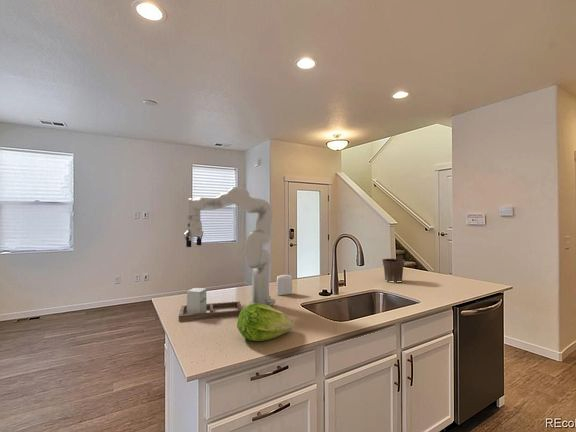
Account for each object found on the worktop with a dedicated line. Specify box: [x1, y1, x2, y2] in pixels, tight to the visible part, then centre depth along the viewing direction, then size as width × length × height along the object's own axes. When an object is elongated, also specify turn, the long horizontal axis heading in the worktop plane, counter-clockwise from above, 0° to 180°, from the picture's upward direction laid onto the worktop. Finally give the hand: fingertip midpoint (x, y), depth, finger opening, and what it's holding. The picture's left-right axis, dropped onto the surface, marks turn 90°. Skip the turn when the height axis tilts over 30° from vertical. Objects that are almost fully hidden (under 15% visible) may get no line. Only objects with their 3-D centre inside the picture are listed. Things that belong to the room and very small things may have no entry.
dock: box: [178, 301, 243, 322], centre depth 152 cm, size 16×30×2 cm, turn 105°
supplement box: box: [186, 287, 207, 314], centre depth 150 cm, size 7×7×13 cm
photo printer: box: [276, 274, 293, 296], centre depth 188 cm, size 10×4×12 cm, turn 107°
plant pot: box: [381, 258, 405, 282], centre depth 224 cm, size 16×16×16 cm
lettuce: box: [236, 303, 295, 342], centre depth 123 cm, size 15×24×16 cm
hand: (194, 246), depth 181 cm, fingers open, 9 cm apart
